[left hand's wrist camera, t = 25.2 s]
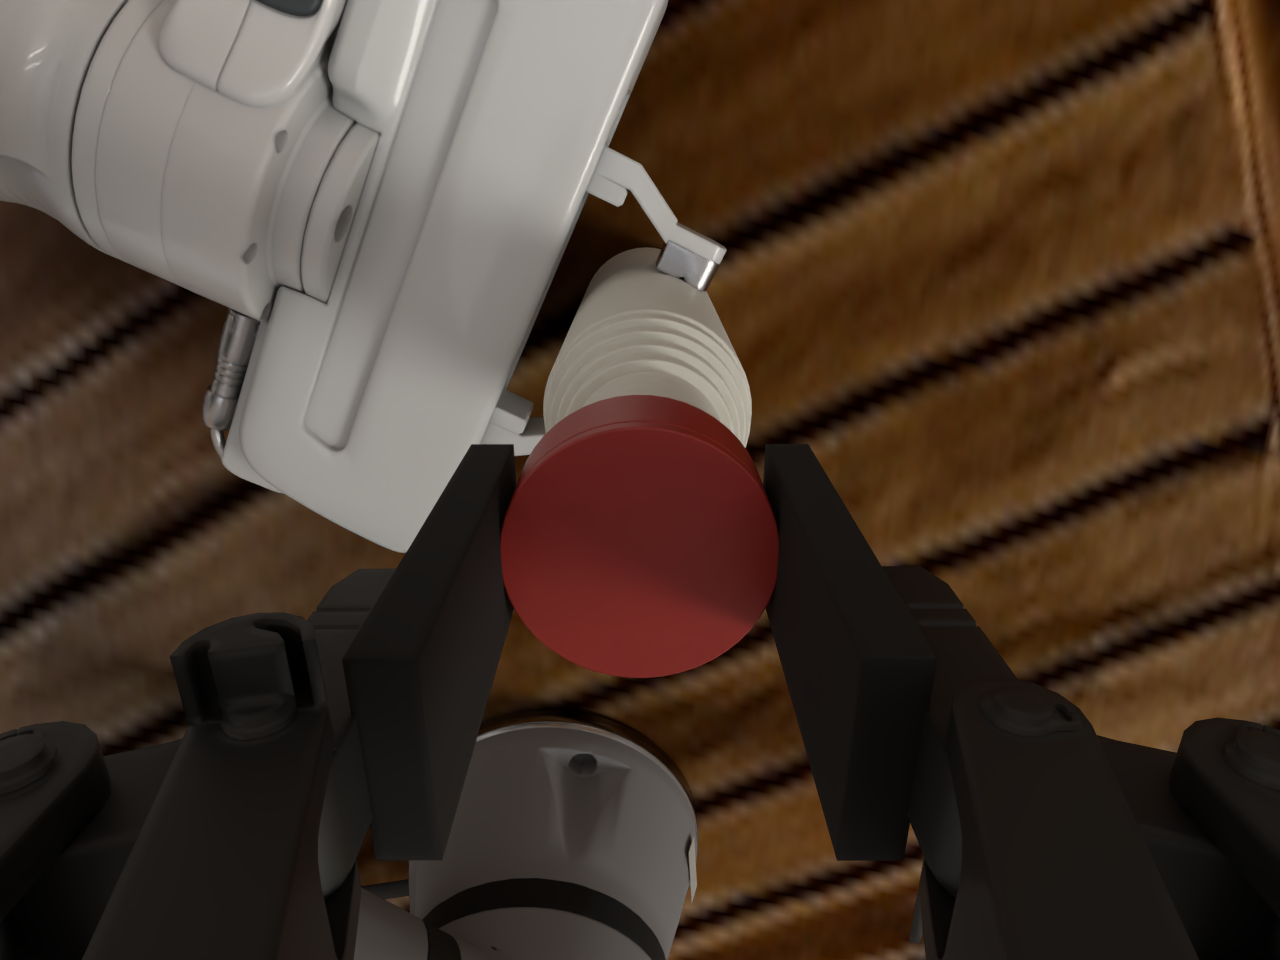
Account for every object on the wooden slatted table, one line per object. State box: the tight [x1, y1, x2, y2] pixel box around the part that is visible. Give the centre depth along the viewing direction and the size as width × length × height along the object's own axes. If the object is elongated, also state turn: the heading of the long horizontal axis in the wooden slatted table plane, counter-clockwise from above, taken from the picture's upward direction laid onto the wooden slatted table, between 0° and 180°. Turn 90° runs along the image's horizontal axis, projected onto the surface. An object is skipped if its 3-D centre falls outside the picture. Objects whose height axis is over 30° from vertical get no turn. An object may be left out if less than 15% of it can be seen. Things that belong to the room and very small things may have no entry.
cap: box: [500, 395, 779, 678], centre depth 13 cm, size 5×5×2 cm
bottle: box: [543, 247, 752, 447], centre depth 23 cm, size 5×5×19 cm
